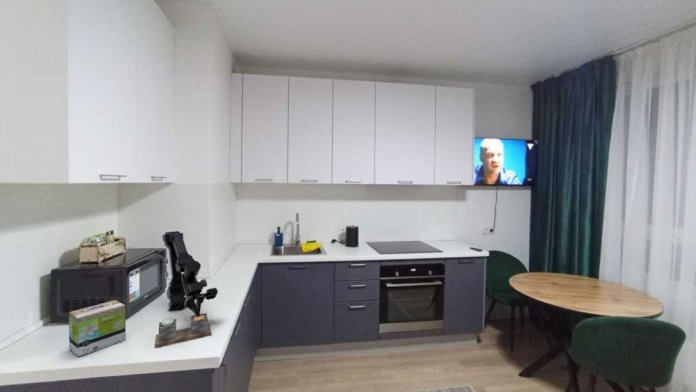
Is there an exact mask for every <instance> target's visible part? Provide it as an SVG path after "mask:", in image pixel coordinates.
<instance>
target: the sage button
mask: <svg viewBox="0 0 696 392" xmlns="http://www.w3.org/2000/svg"><path fill="white" fill-rule="evenodd" d="M174 319H175V318H173V317H167V318H164V319H162V320H161V321H160V322H161V323H162V327H165V326H170V325H174Z"/></svg>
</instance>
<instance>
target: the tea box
mask: <svg viewBox="0 0 696 392" xmlns="http://www.w3.org/2000/svg"><path fill="white" fill-rule="evenodd" d="M126 319H127V318H126V305H125V304H124V303H121V302H119V301H118V300H116V299H114V300H110V301H106V302H104V303H103V302H102V303H99V304H96V305H93V306H91V305H90V306H87V307H83V308H80V309H77V310H72V311H69V313H68V340H69V341H68V349H69V350H70V349H71V350H72V351H73V352H74V353H76V354H77V355H78V356H80V357H82V356H81V355H83V356H85V355H87V353H88V354H91V353H93V352H95V350H96V351H99V350H102V349H103V348H107V347H109V346H112V345H115V343H116V344H118V342H119V343H121V341H122V342H124V341H126V335H127V334H126V333H127V332H126V330H127V329H126V327H127V326H126V323H127V322H126ZM71 350H70V351H71ZM72 351H71V352H72ZM92 351H93V352H92ZM73 352H72V353H73ZM74 353H73V354H74ZM84 354H85V355H84ZM77 355H76V356H77ZM78 356H77V357H78Z"/></svg>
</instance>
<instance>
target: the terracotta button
mask: <svg viewBox="0 0 696 392" xmlns="http://www.w3.org/2000/svg"><path fill="white" fill-rule="evenodd" d="M204 318H205V316H204V315H200V316H198V317H197V316H195V317H194V320H199V319H204Z"/></svg>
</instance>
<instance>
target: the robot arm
mask: <svg viewBox="0 0 696 392" xmlns="http://www.w3.org/2000/svg"><path fill="white" fill-rule="evenodd" d="M162 241H163V242H164V243H163V244H164V246H165V247H166V249H168V254H169V263H170V265H169V266H170V273H171V279H170V281H169V283H168V286H167V290H166V297H167V299H168V300H169V302H168V311H169V312H172V311H183V310H184V308H188V309H189V310H190V311H191V312H192V313H193V314H194V315H196V316H197V317H198V316H200V314H201V308H202V304H203V303H204V301H205V300H208V301H209V300H213V299H215V298H216V297H217V295H218V294H219V291H218V289H217V287H212V288H207V289H206V292H203V289H204V288H206V287H208V283H207V282H208V281H207V279H206V278H204V279H201V280H200V281H198V278H197V276H198V275H199V272H200V270H201V267H202V266H201V265H202V264H201V263H200V262H199V261H197V260H195V258H193V255H191V254H189V252H188V250H187V249H188V248H187V247H186V244H185V241H184V232H180V231H179V230H177V231H176V230H175V231H166V232H165V233H164V234H162Z"/></svg>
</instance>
